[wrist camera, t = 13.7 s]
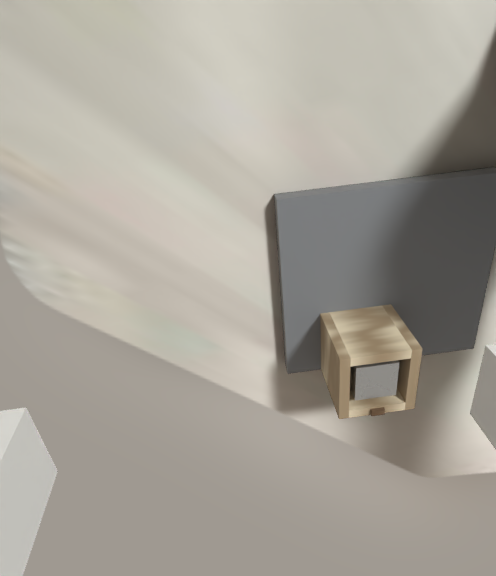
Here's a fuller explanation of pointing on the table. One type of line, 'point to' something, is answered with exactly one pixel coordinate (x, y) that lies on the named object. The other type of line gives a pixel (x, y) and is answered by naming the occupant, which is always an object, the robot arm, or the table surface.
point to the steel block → (374, 380)
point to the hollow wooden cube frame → (368, 357)
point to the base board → (387, 257)
